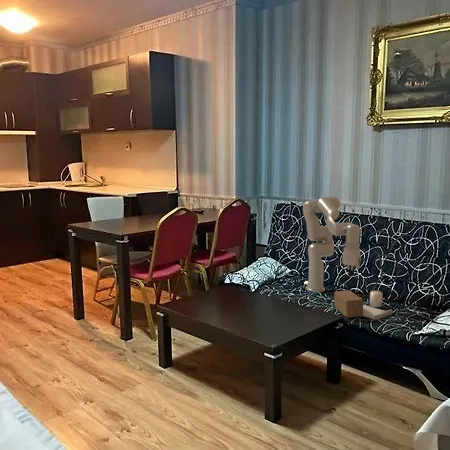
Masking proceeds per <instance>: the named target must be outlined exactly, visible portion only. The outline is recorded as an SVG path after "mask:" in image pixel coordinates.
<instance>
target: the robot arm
mask: <svg viewBox="0 0 450 450" xmlns="http://www.w3.org/2000/svg"><path fill="white" fill-rule="evenodd" d="M340 208H341V202H340V199H339V198H338V197H336V196H326V197H325V196H324V197H320V198H319V199H310V200H307V201H305V202H304V203H303V206H302V213H303V216H304V219H305V223H306V229H307V231H306V232H307V236H308V239H309V241H311V242H313V243H311V244H310V245H308V247H307V253H308V280H305V281H304V285H306V286H305V290H307V291H308V292H312V293H321V292H325V290H326V288H325V287H324V265H325V264H324V262H323V260H322V258H325V257H331V256H333V255H334V253H335V245H334V239H333V238H334V237H333V236H335V237H336V236H337V237H338V236H340V237H341V236H346V237H345V242H344V243H343V244H344V245H345V247H343V251H342V261H341V262H342V265H344V266H345V267H346V269H347V270H348V273H347V275H348V277H350V278H352V277H354V276H355V270H356V269H359V268H361V266H360V265H361V263H362V262H361V261H362V259H361V257H362V256H361V255H362V254H361V249H360V234H361V233H360V231H361V227H360V226H359V225H358V224H354V223H352V222H336V221H335V220H337V219H338V218H339V216H340V210H339V209H340ZM316 213H318V214H319V213H323V215H324V216H325V218H326V221H325V224H326V226H325V225H324V226H323V225H320V220H319V218H318V216H317V215H316ZM320 241H321V242H320Z"/></svg>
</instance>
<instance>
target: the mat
mask: <svg viewBox="0 0 450 450" xmlns="http://www.w3.org/2000/svg"><path fill="white" fill-rule="evenodd" d="M392 314H393V309H392V308H389V309H387V310H382V309H379V308H377V307H372V306H370V305H366V304H363V316H362V317H366V318H368V319H371V320H375V321H378V320H380V319H383V318H385V317H387V316H390V315H392Z"/></svg>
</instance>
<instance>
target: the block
mask: <svg viewBox="0 0 450 450" xmlns="http://www.w3.org/2000/svg"><path fill="white" fill-rule="evenodd" d="M333 296H334V297H333V300H334V305H333V306H334V308H335V309H336V310H337V311H338V312H340V313H341V314H342V315H343V316H344V317H346V318H349V319H350V318H355V317H356V318H357V317H364V316H363V305H364V300H363V298H362V297H360V296H358V295H357V294H355V293H354V292H353V291H351V290H348V289H347V290H339V291H334V293H333Z"/></svg>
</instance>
